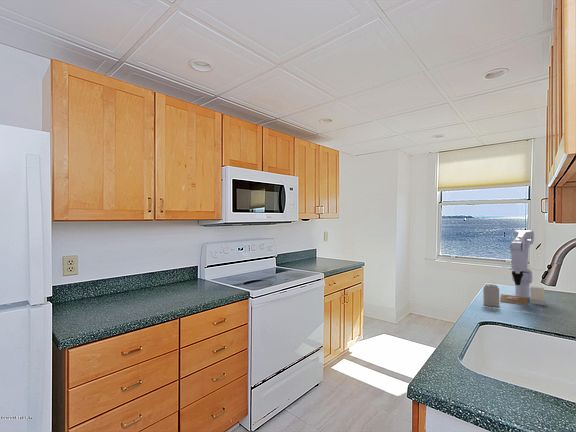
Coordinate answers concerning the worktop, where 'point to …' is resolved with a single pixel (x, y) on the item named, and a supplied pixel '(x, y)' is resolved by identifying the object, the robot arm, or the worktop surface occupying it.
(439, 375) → the worktop surface
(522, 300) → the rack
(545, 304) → the stand
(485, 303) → the can
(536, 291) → the beige rectangular block
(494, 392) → the worktop surface
